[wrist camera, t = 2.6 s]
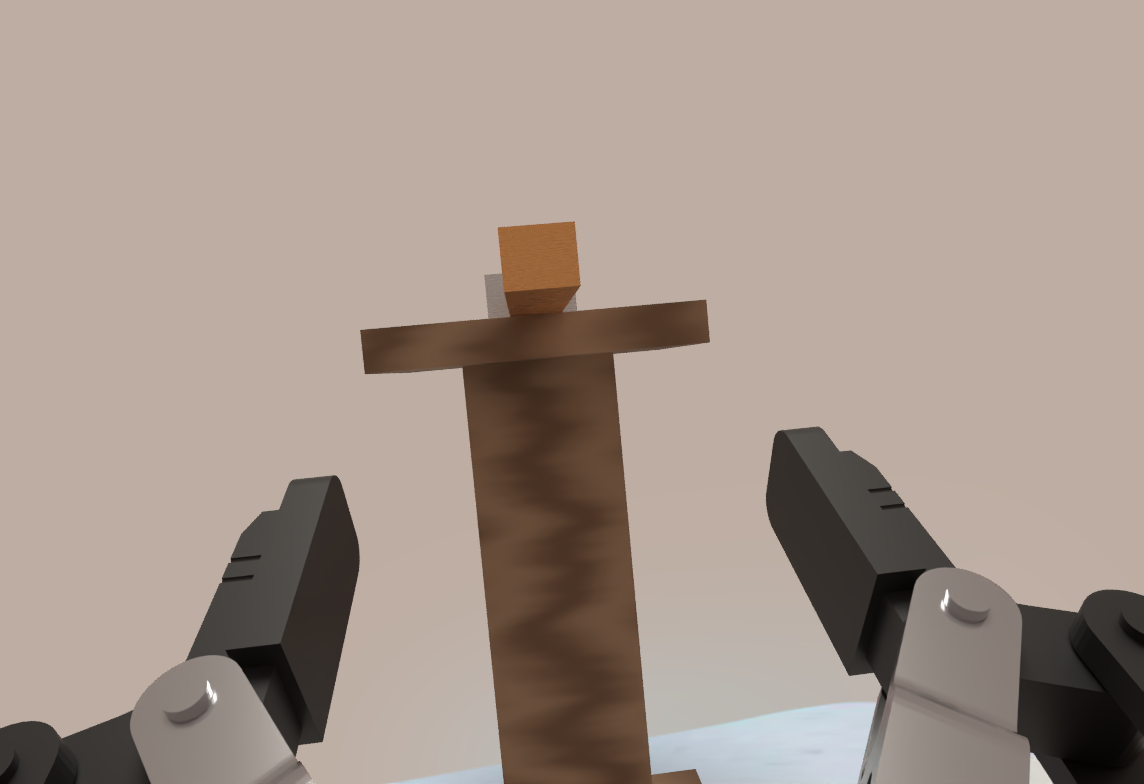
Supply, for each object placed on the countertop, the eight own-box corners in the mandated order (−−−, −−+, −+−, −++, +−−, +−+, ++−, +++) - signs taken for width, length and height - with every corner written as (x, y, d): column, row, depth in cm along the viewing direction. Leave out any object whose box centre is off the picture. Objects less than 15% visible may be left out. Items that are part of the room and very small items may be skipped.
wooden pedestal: (431, 1006, 32) (360, 329, 30) (456, 831, 44) (406, 340, 42) (761, 954, 33) (706, 299, 32) (697, 798, 45) (655, 318, 43)
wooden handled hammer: (462, 295, 21) (452, 198, 21) (493, 333, 43) (489, 286, 43) (621, 281, 21) (612, 186, 21) (571, 326, 43) (567, 279, 43)
